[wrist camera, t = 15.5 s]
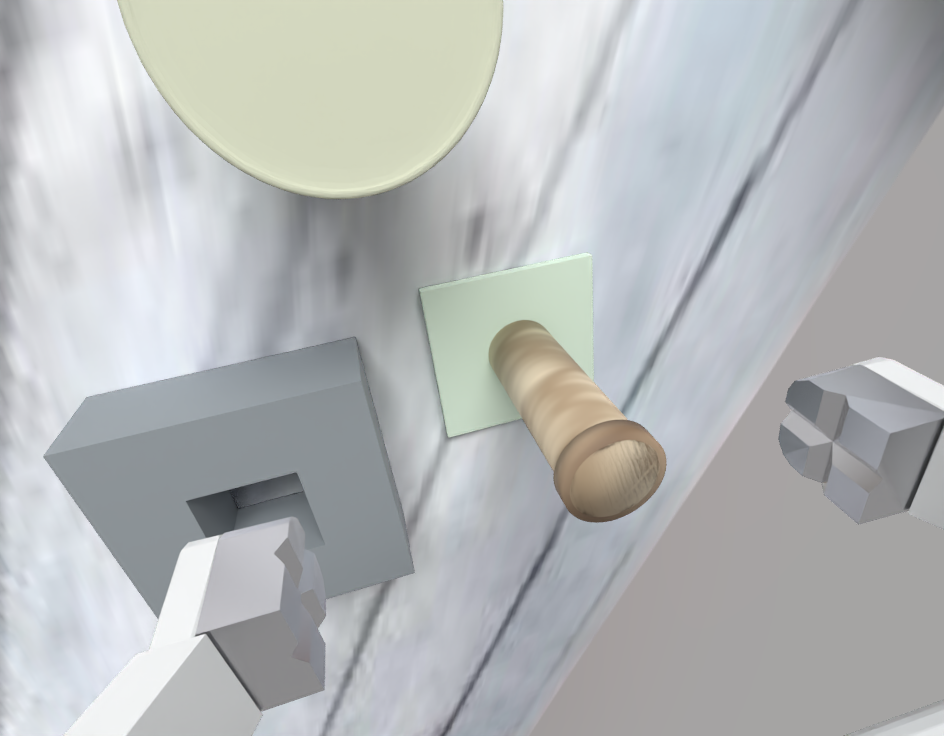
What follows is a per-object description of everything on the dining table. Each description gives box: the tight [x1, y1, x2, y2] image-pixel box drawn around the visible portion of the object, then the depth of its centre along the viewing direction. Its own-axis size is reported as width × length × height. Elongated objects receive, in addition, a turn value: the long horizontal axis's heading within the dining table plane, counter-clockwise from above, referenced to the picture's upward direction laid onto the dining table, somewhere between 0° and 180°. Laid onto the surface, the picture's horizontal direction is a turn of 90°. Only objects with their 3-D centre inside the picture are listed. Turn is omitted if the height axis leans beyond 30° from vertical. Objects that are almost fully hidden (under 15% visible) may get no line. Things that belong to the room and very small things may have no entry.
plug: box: [488, 320, 666, 522], centre depth 27 cm, size 5×5×12 cm
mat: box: [419, 252, 594, 438], centre depth 32 cm, size 10×10×1 cm
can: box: [117, 0, 503, 199], centre depth 17 cm, size 9×9×12 cm
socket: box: [43, 337, 415, 619], centre depth 30 cm, size 14×14×5 cm
